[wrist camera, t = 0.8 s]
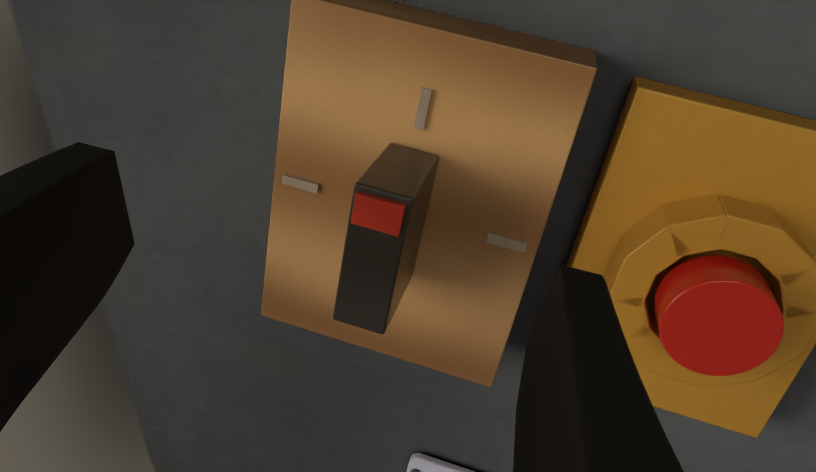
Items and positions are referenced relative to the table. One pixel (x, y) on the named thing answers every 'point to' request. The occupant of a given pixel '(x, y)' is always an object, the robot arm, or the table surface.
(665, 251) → the button block
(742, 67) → the table surface
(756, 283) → the button
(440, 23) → the panel
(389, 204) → the black block
